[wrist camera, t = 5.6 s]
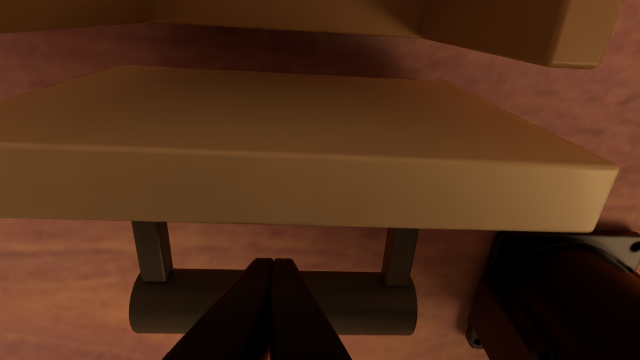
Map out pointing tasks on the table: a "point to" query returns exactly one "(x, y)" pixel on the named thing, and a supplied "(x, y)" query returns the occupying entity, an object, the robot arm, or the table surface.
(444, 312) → the table surface
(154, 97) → the drawer
